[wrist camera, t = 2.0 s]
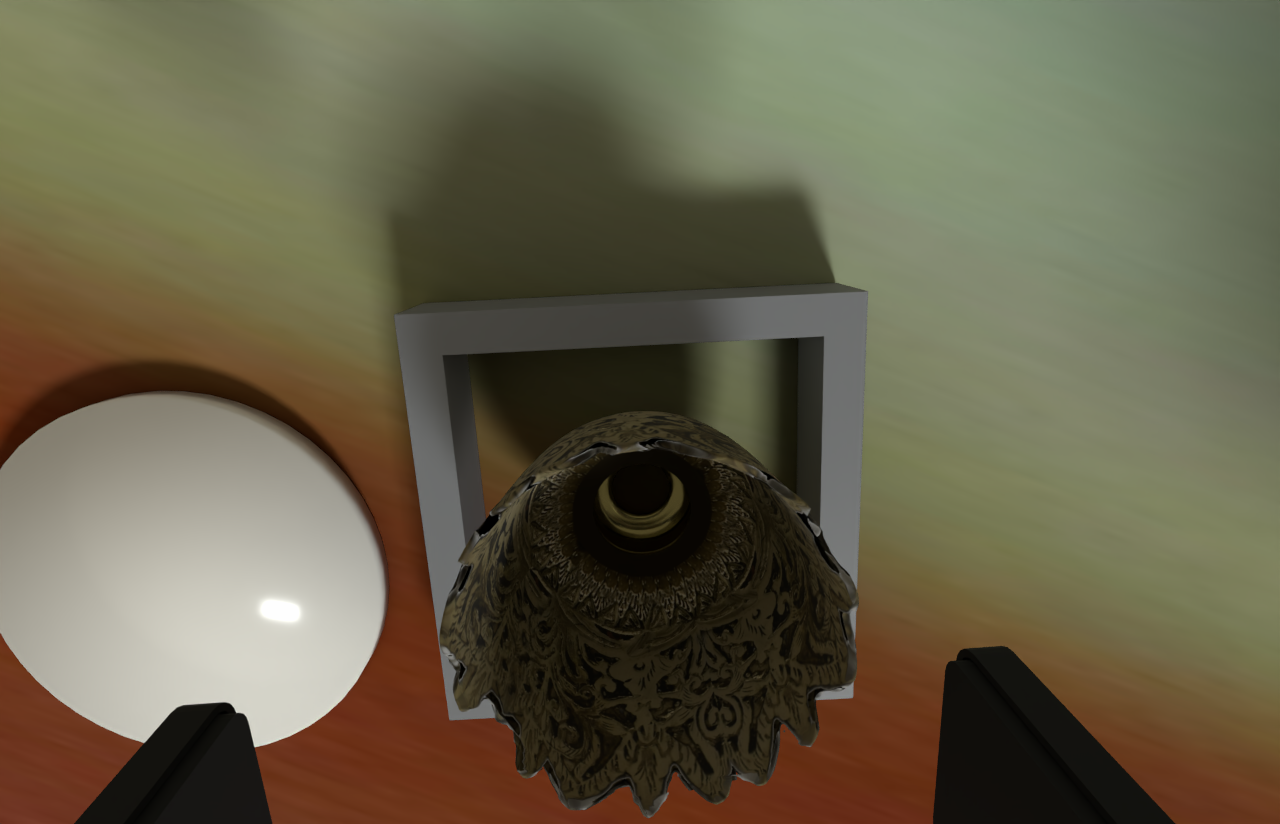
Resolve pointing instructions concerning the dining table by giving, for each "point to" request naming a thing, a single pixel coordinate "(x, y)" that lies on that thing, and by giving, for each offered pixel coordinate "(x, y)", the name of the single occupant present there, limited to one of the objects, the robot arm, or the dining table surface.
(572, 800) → the ornate bronze lamp shade
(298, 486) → the coaster
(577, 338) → the pocket frame
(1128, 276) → the dining table surface
